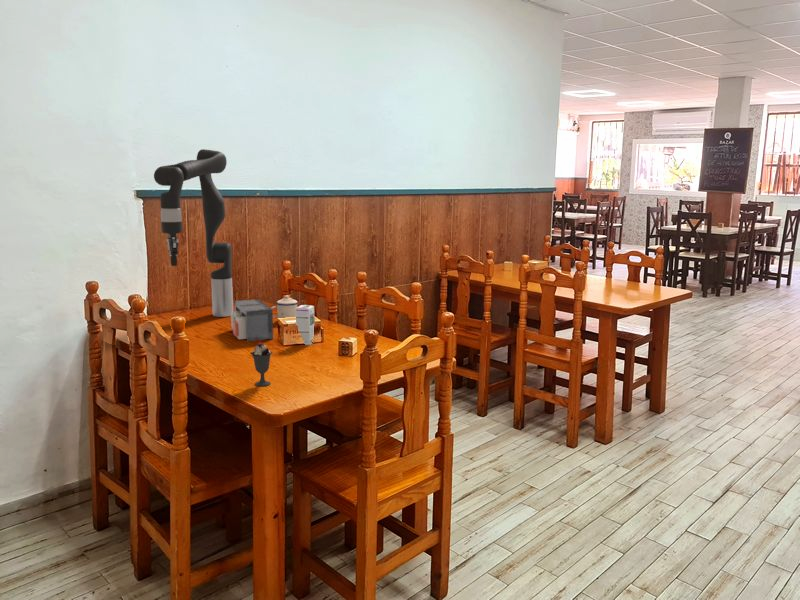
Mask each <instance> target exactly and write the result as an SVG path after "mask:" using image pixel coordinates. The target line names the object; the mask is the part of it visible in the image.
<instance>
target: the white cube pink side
mask: <svg viewBox="0 0 800 600" xmlns="http://www.w3.org/2000/svg"><path fill="white" fill-rule="evenodd" d="M232 334H233V336H235V337H236V339H238V340H247V332H246V316H242V317H236V320H234V321H233V328H232Z"/></svg>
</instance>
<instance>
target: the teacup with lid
mask: <svg viewBox="0 0 800 600" xmlns="http://www.w3.org/2000/svg"><path fill="white" fill-rule="evenodd" d="M298 303H299V302H298V301H297V300H296V299H294V298H292V297H290V295H284V297H283V298H282V299H279V300H277V301H276V305H274V306H272V307H270V308H271V309H272V310H273V309H276V310H277V315H276V314H273V318H276V319H278V318H285V317H295V316H296V313H295V308H297V307H298Z"/></svg>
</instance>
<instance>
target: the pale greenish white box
mask: <svg viewBox="0 0 800 600" xmlns="http://www.w3.org/2000/svg"><path fill="white" fill-rule="evenodd" d="M236 317H240V311H235V310H233V315H231V316H230V323H231V324H230V325H231V328H232V329H233V321H234V320H236Z"/></svg>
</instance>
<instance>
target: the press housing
mask: <svg viewBox="0 0 800 600" xmlns="http://www.w3.org/2000/svg"><path fill="white" fill-rule="evenodd" d="M234 311H240V317H242V316H246V332H247V339H246V342H248V341H250V342H258V341H257V340H258V339H259V340H260V341H266V340H265V339H270V340H274V317H273V315H274V314H273V309H271V307H270V306H268V304H266V303H265V302H263V301H262V300H261V299H259V298H254V299H253V298H252V299H241V300H240V299H239V300H234ZM255 337H257V338H258V339H257V338H255Z"/></svg>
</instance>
